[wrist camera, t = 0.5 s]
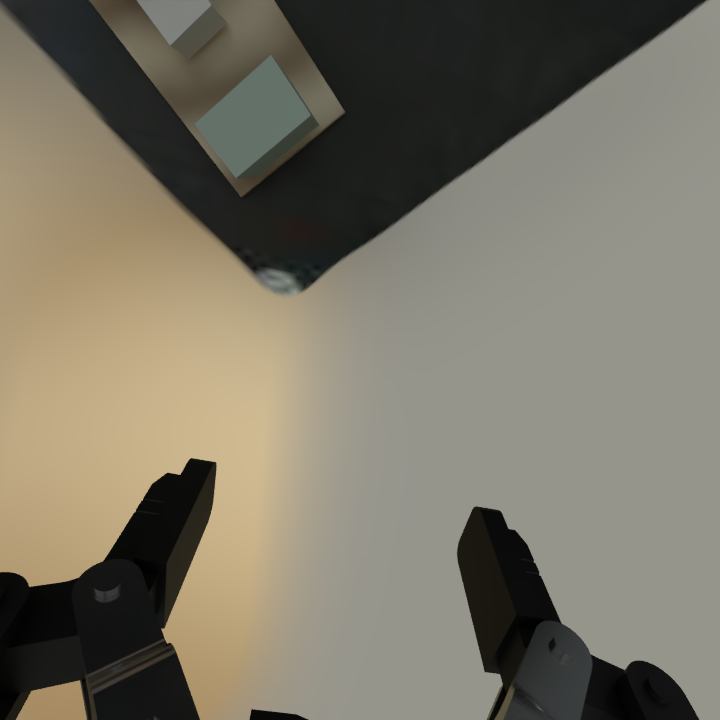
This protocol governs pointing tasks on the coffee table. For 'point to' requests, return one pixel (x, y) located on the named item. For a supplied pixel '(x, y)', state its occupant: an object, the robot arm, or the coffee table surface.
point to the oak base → (223, 66)
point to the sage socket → (257, 121)
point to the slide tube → (185, 22)
